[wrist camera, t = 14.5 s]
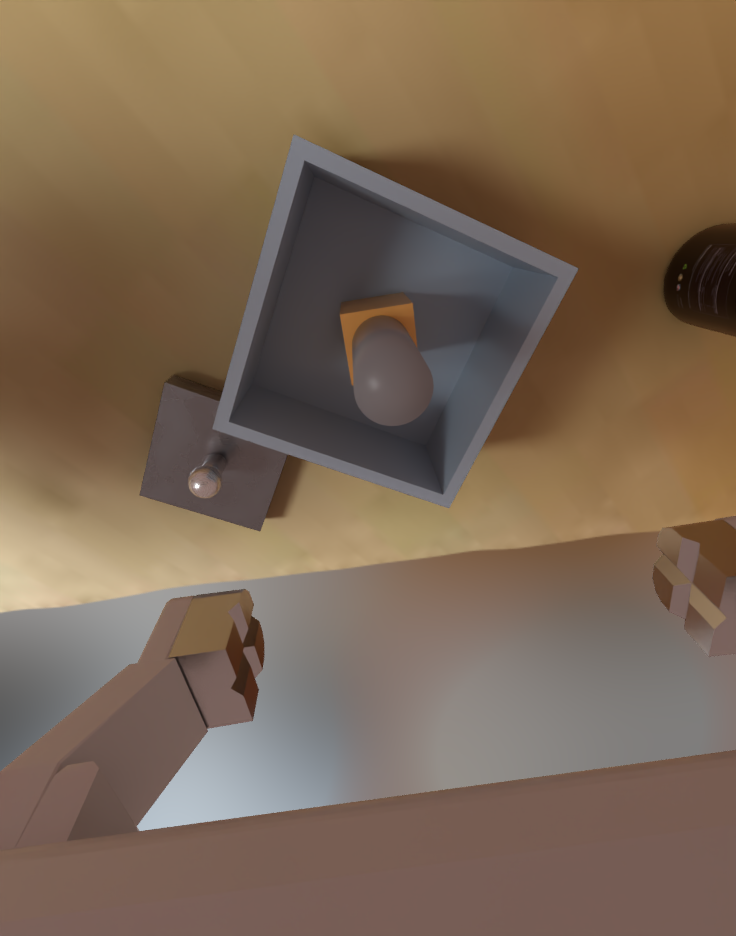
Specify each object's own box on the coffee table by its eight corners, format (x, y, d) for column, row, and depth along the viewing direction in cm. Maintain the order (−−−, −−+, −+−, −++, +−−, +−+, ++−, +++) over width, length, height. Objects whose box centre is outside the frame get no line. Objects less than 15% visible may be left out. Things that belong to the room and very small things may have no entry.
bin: (241, 386, 37) (212, 428, 29) (307, 159, 31) (293, 134, 23) (428, 452, 40) (449, 508, 32) (524, 259, 34) (578, 268, 26)
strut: (340, 302, 34) (336, 347, 21) (403, 292, 34) (438, 331, 21) (351, 363, 36) (353, 440, 23) (409, 354, 36) (446, 426, 23)
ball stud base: (148, 483, 41) (116, 525, 35) (173, 374, 37) (141, 401, 31) (263, 518, 43) (250, 563, 37) (299, 419, 39) (290, 452, 33)
